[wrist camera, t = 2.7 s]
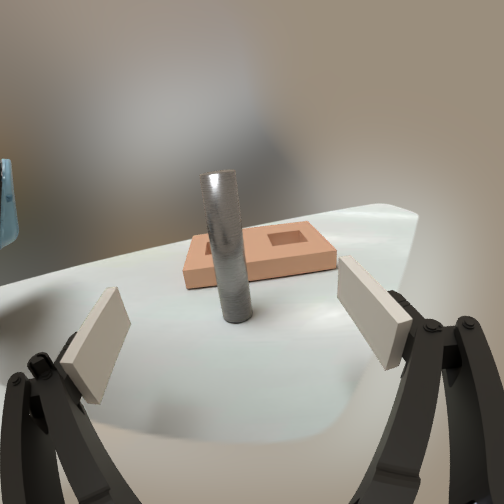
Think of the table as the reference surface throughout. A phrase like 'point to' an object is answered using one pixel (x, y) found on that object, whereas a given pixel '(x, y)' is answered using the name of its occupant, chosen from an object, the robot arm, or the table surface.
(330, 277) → the table surface
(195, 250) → the terracotta block
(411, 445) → the robot arm
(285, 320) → the table surface
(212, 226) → the steel dowel
